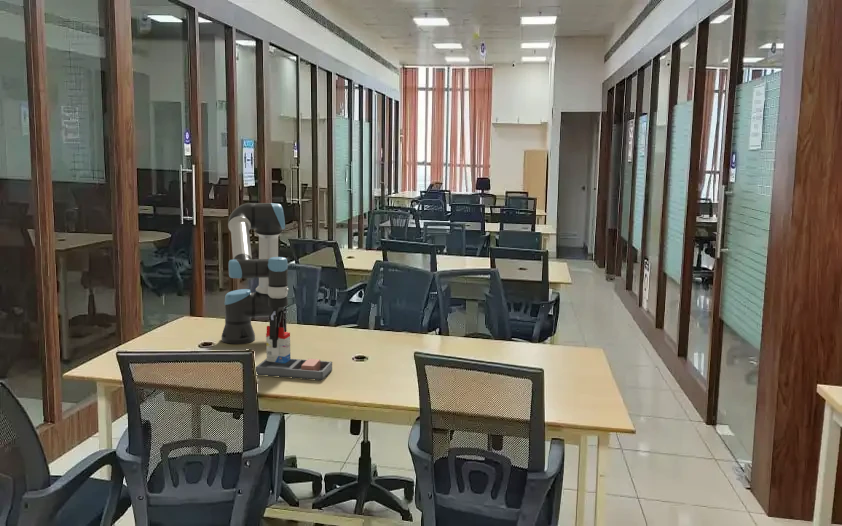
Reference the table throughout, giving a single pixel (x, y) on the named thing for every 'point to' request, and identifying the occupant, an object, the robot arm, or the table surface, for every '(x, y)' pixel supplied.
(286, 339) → the ink box
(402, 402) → the table surface
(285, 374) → the caddy
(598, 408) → the table surface
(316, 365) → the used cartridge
